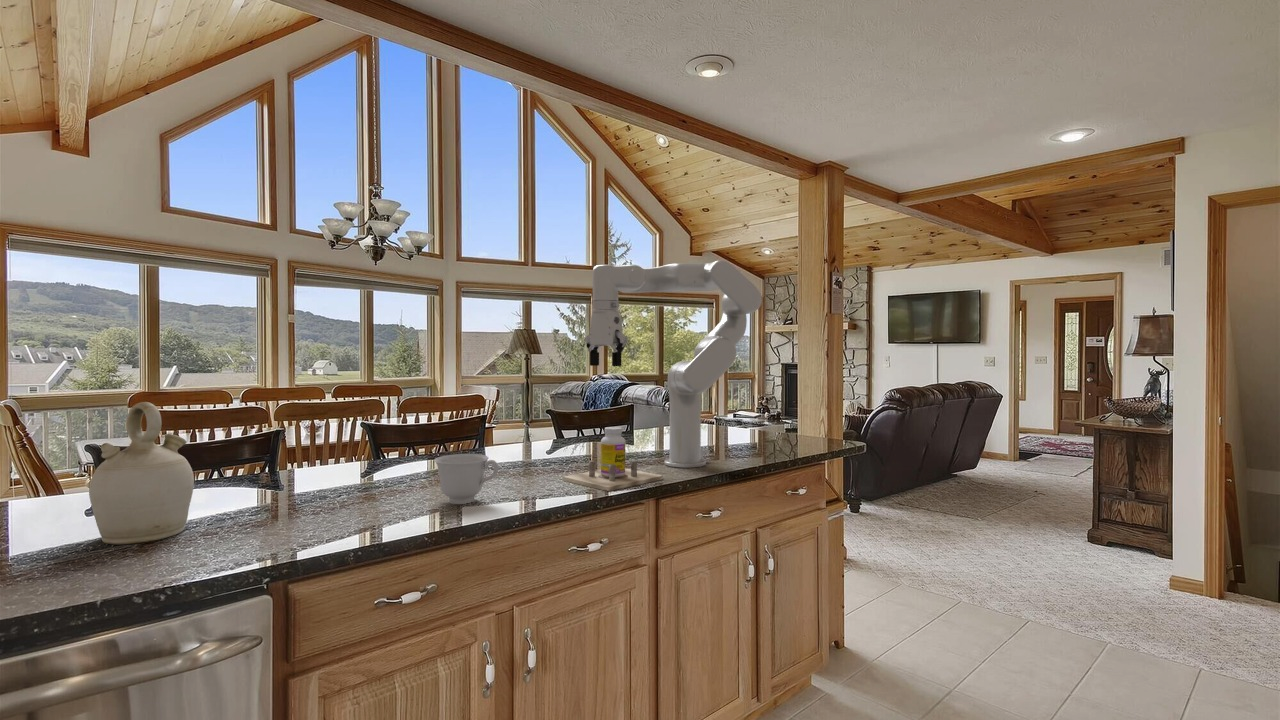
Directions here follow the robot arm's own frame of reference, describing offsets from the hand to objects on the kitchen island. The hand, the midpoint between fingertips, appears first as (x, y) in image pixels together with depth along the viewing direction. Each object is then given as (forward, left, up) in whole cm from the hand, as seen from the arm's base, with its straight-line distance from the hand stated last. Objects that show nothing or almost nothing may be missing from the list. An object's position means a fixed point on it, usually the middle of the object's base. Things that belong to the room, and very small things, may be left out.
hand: (605, 365), depth 181 cm
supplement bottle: (+9, +13, -29) cm, 33 cm away
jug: (+105, -13, -31) cm, 110 cm away
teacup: (+49, +7, -31) cm, 58 cm away
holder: (+9, +13, -30) cm, 34 cm away
